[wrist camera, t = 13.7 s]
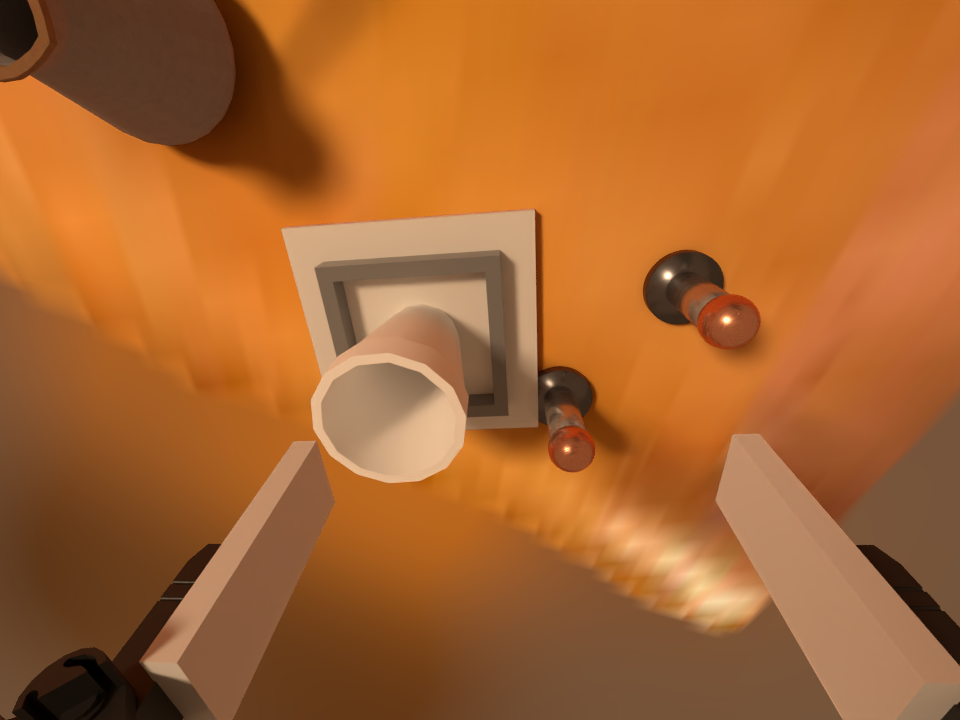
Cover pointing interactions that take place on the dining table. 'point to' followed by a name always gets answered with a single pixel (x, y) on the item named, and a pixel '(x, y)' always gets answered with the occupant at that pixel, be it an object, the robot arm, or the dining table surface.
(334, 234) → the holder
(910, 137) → the dining table surface
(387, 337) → the foam cup
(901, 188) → the dining table surface
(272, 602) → the robot arm
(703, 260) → the pegs
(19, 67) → the coffee pot
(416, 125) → the dining table surface
